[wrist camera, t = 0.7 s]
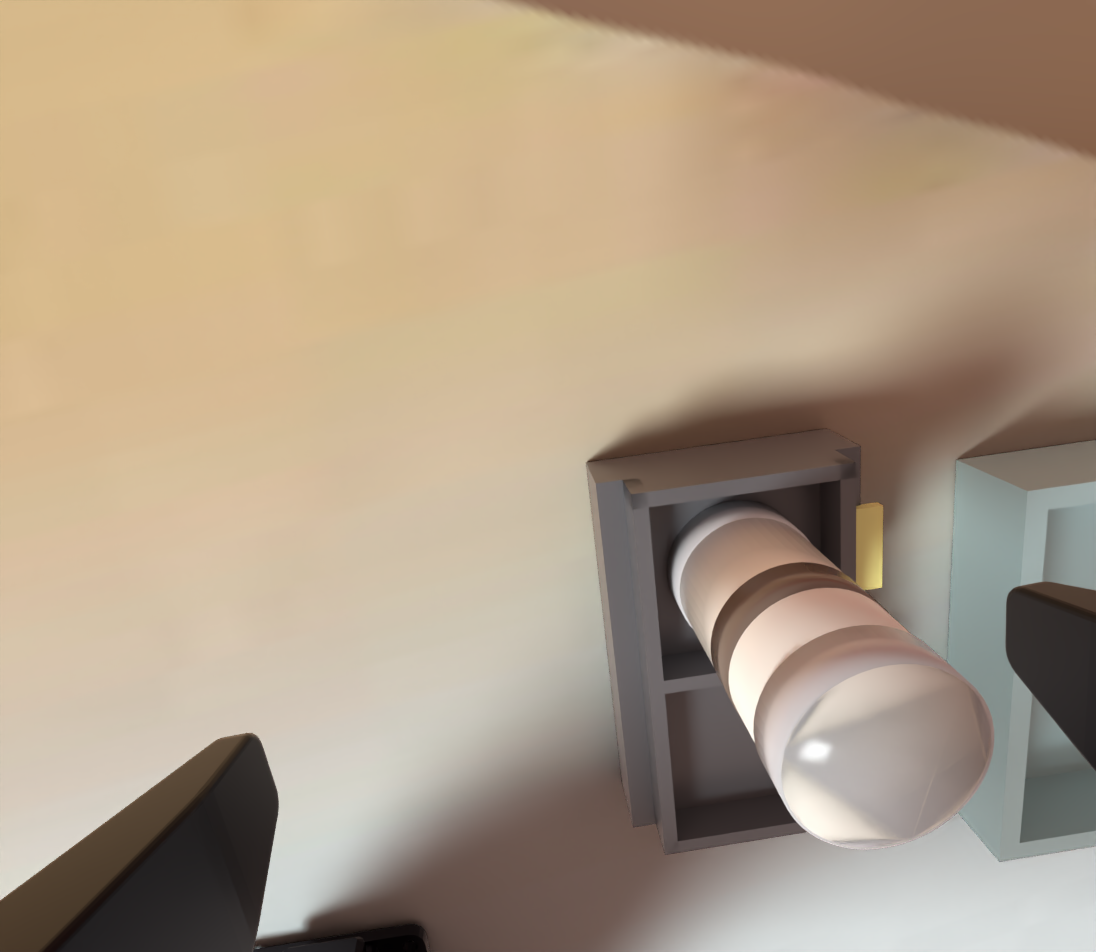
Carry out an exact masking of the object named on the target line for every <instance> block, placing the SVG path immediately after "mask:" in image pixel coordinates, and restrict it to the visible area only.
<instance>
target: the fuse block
mask: <svg viewBox="0 0 1096 952" xmlns="http://www.w3.org/2000/svg"><path fill="white" fill-rule="evenodd" d="M860 456H861V446H859V445H857V444H855V443H853V442H852V441H850V440H848V439H846V438H844V437H842V436H840V435H838V434H836V433H834V432H832V431H830V430H828V429H821V430H814V431H807V432H800V433H793V434H786V435H778V436H771V437H764V438H757V439H750V440H743V441H736V442H728V443H721V444H714V445H707V446H700V447H693V448H686V449H679V450H671V451H664V452H657V453H650V454H643V455H636V456H629V457H621V458H614V459H607V460H600V461H593V462H586V467H587V476H588V485H589V494H590V503H591V512H592V521H593V530H594V539H595V547H596V556H597V565H598V574H599V583H600V592H601V601H602V610H603V619H604V628H605V637H606V645H607V654H608V663H609V672H610V681H611V690H612V699H613V708H614V717H615V726H616V735H617V744H618V752H619V761H620V770H621V779H622V785H623V789H624V793H625V797H626V801H627V805H628V809H629V813H630V817H631V821H632V825H633V827H639V826H645V825H651V824H656V826H657V829H658V832H659V836H660V839H661V843H662V846H663V850H664V853H665V855H667V854H673V853H680V852H686V851H692V850H698V849H705V848H711V847H717V846H723V845H729V844H736V843H742V842H748V841H754V840H761V839H767V838H773V837H779V836H786V835H792V834H798V833H804V832H807V831H806V830H805V829H803V828H802V827H801V826H800V825H799V824H798V823H797V822H796V821H795V820H794V818H793V817H792V816H791V814H790V813H789V811H788V810H787V808H786V806H785V804H784V802H783V800H782V799H781V797H780V795H779V793H778V791H777V789H776V787H775V785H774V784H773V782H772V780H771V778H770V776H769V774H768V772H767V770H766V769H765V767H764V765H763V763H762V761H761V759H760V757H759V755H758V752H757V749H756V745H755V743H754V741H753V739H752V737H751V735H750V733H749V731H748V730H747V728H746V726H745V724H744V722H743V720H742V719H741V717H740V716H739V714H738V713H737V711H736V709H735V708H734V706H733V704H732V702H731V700H730V698H729V696H728V695H727V693H726V691H725V689H724V687H723V685H722V684H721V682H720V680H719V678H718V676H717V674H716V672H715V669H714V667H713V665H712V663H711V661H710V659H709V658H708V656H707V654H706V652H705V650H704V648H703V646H702V645H701V643H700V641H699V639H698V637H697V635H696V634H695V632H694V630H693V628H692V627H691V626H690V625H689V623H688V622H687V621H686V619H685V617H684V615H683V614H682V612H681V610H680V608H679V606H678V604H677V602H676V601H675V599H674V597H673V595H672V592H671V590H670V587H669V584H668V579H667V561H668V556H669V552H670V549H671V547H672V544H673V542H674V540H675V538H676V537H677V535H678V533H679V532H680V531H681V530H682V528H683V527H684V526H685V525H686V524H687V523H688V522H689V521H690V520H691V519H692V518H693V517H695V516H696V515H697V514H699V513H700V512H702V511H703V510H705V509H707V508H709V507H711V506H714V505H717V504H720V503H723V502H728V501H736V500H747V501H754V502H759V503H762V504H765V505H767V506H769V507H771V508H773V509H775V510H776V511H778V512H779V513H781V514H782V515H783V516H784V517H785V518H786V519H787V520H788V521H789V522H791V523H792V524H793V525H794V526H795V527H796V528H797V529H798V530H800V531H801V532H802V533H803V534H804V535H805V536H806V538H807V539H808V540H809V541H810V543H811V544H812V545H813V546H814V547H815V548H816V549H818V550H819V551H820V552H821V553H822V554H823V555H824V556H825V557H826V558H828V559H829V560H830V561H831V562H832V563H833V564H834V565H835V566H836V567H838V568H839V569H840V570H841V571H842V572H843V573H844V574H846V575H847V576H849V577H850V578H851V579H852V580H853V581H854V582H856V583H857V584H858V585H859V586H860V587H861V588H862V589H863V590H869V589H876V588H882V557H883V505H881V504H880V503H878V502H875V503H868V504H861V505H860Z"/></svg>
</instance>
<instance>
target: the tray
mask: <svg viewBox="0 0 1096 952" xmlns="http://www.w3.org/2000/svg"><path fill="white" fill-rule="evenodd" d="M1046 581H1047V582H1054V583H1060V584H1065V585H1070V586H1076V587H1081V588H1086V589H1092V590H1096V440H1091V441H1084V442H1077V443H1070V444H1063V445H1056V446H1049V447H1042V448H1035V449H1028V450H1021V451H1014V452H1007V453H1000V454H993V455H986V456H979V457H972V458H965V459H958V460H956V480H955V502H954V524H953V546H952V568H951V590H950V612H949V635H948V657H947V663H948V664H950V665H951V666H952V667H953V668H954V669H955V670H956V671H957V672H958V673H960V674H961V675H962V676H963V677H964V678H965V679H966V680H967V681H968V682H970V683H971V684H972V685H973V686H974V687H975V688H976V689H977V690H978V692H979V693H980V694H981V696H982V697H983V698H984V700H985V702H986V704H987V706H988V708H989V711H990V713H991V716H992V720H993V726H994V748H993V755H992V758H991V762H990V765H989V768H988V770H987V773H986V775H985V777H984V779H983V781H982V783H981V784H980V786H979V788H978V789H977V791H976V792H975V794H974V795H973V796H972V798H971V799H970V800H969V801H968V802H967V804H966V805H965V806H964V807H963V808H962V809H961V810H960V811H959V812H958V813H959V815H960V816H961V817H962V818H963V819H964V821H965V822H966V823H967V824H968V825H969V826H970V828H971V829H972V830H973V831H974V832H975V834H976V835H977V836H978V837H979V838H980V840H981V841H982V842H983V843H984V844H985V846H986V847H987V848H988V849H989V850H990V852H991V853H992V854H993V855H994V856H995V858H996V859H997V860H998V861H999V862H1002V861H1008V860H1015V859H1021V858H1027V857H1033V856H1039V855H1045V854H1051V853H1057V852H1063V851H1070V850H1076V849H1082V848H1088V847H1094V846H1096V771H1095V770H1094V769H1093V768H1092V767H1091V766H1090V764H1089V763H1088V762H1087V761H1086V760H1085V758H1084V757H1083V756H1082V755H1081V754H1080V752H1079V751H1078V750H1077V749H1076V747H1075V746H1074V745H1073V744H1072V742H1071V741H1070V740H1069V739H1068V737H1067V736H1066V735H1065V734H1064V732H1063V731H1062V730H1061V729H1060V728H1059V726H1058V725H1057V724H1056V723H1055V721H1054V720H1053V719H1052V718H1051V716H1050V715H1049V714H1048V713H1047V711H1046V710H1045V709H1044V708H1043V706H1042V705H1041V704H1040V703H1039V702H1038V700H1037V699H1036V698H1035V697H1034V695H1033V694H1032V693H1031V692H1030V690H1029V689H1028V688H1027V687H1026V685H1025V684H1024V683H1023V682H1022V680H1021V679H1020V678H1019V677H1018V675H1017V674H1016V673H1015V672H1014V670H1013V669H1012V667H1011V665H1010V663H1009V661H1008V658H1007V655H1006V648H1005V639H1006V600H1007V596H1008V593H1009V592H1010V591H1011V590H1012V589H1013V588H1015V587H1018V586H1022V585H1027V584H1032V583H1038V582H1046Z"/></svg>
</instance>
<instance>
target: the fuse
mask: <svg viewBox="0 0 1096 952" xmlns="http://www.w3.org/2000/svg"><path fill="white" fill-rule="evenodd" d="M667 579H668V584H669V587H670V590H671V592H672V595H673V597H674V599H675V601H676V602H677V604H678V606H679V608H680V610H681V612H682V614H683V615H684V617H685V619H686V621H687V622H688V623H689V625H690V626H691V627H692V628H693V630H694V632H695V634H696V635H697V637H698V639H699V641H700V643H701V645H702V646H703V648H704V650H705V652H706V654H707V656H708V658H709V659H710V661H711V663H712V665H713V667H714V669H715V672H716V674H717V676H718V678H719V680H720V682H721V684H722V685H723V687H724V689H725V691H726V693H727V695H728V696H729V698H730V700H731V702H732V704H733V706H734V708H735V709H736V711H737V713H738V714H739V716H740V717H741V719H742V720H743V722H744V724H745V726H746V728H747V730H748V731H749V733H750V735H751V737H752V739H753V741H754V743H755V745H756V749H757V752H758V755H759V757H760V759H761V761H762V763H763V765H764V767H765V769H766V770H767V772H768V774H769V776H770V778H771V780H772V782H773V784H774V785H775V787H776V789H777V791H778V793H779V795H780V797H781V799H782V800H783V802H784V804H785V806H786V808H787V810H788V811H789V813H790V814H791V816H792V817H793V818H794V820H795V821H796V822H797V823H798V824H799V825H800V826H801V827H802V828H803V829H805V830H806V831H807V832H808V833H810V834H811V835H813V836H815V837H816V838H818V839H820V840H822V841H824V842H827V843H830V844H832V845H836V846H840V847H844V848H851V849H880V848H887V847H892V846H896V845H900V844H903V843H906V842H910V841H912V840H915V839H917V838H919V837H922V836H924V835H926V834H928V833H930V832H931V831H933V830H935V829H937V828H938V827H940V826H941V825H943V824H944V823H945V822H947V821H948V820H950V819H951V818H952V817H953V816H954V815H955V814H957V813H958V812H959V811H960V810H961V809H962V808H963V807H964V806H965V805H966V804H967V802H968V801H969V800H970V799H971V798H972V796H973V795H974V794H975V792H976V791H977V789H978V788H979V786H980V784H981V783H982V781H983V779H984V777H985V775H986V773H987V770H988V768H989V765H990V762H991V758H992V755H993V748H994V726H993V720H992V716H991V713H990V711H989V708H988V706H987V704H986V702H985V700H984V698H983V697H982V696H981V694H980V693H979V692H978V690H977V689H976V688H975V687H974V686H973V685H972V684H971V683H970V682H968V681H967V680H966V679H965V678H964V677H963V676H962V675H961V674H960V673H958V672H957V671H956V670H955V669H954V668H953V667H952V666H951V665H950V664H948V663H947V662H946V661H945V660H944V659H943V658H942V657H941V656H939V655H938V654H937V653H936V652H935V651H934V650H933V649H932V648H930V647H929V646H928V645H927V644H926V643H925V642H923V641H922V640H920V639H919V638H917V637H916V636H914V635H912V634H911V633H910V632H908V631H907V630H906V629H905V628H904V627H903V626H902V625H901V624H900V623H898V622H897V621H896V620H895V619H894V618H893V617H892V616H891V615H890V614H889V613H888V612H887V611H886V610H885V609H884V608H883V607H882V606H881V605H880V604H879V603H878V602H877V601H876V600H874V599H873V598H872V597H871V596H870V595H869V594H868V593H867V592H866V591H864V590H863V589H862V588H861V587H860V586H859V585H858V584H857V583H856V582H854V581H853V580H852V579H851V578H850V577H849V576H847V575H846V574H844V573H843V572H842V571H841V570H840V569H839V568H838V567H836V566H835V565H834V564H833V563H832V562H831V561H830V560H829V559H828V558H826V557H825V556H824V555H823V554H822V553H821V552H820V551H819V550H818V549H816V548H815V547H814V546H813V545H812V544H811V543H810V541H809V540H808V539H807V538H806V536H805V535H804V534H803V533H802V532H801V531H800V530H798V529H797V528H796V527H795V526H794V525H793V524H792V523H791V522H789V521H788V520H787V519H786V518H785V517H784V516H783V515H782V514H781V513H779V512H778V511H776V510H775V509H773V508H771V507H769V506H767V505H765V504H762V503H759V502H754V501H747V500H736V501H728V502H723V503H720V504H717V505H714V506H711V507H709V508H707V509H705V510H703V511H702V512H700V513H699V514H697V515H696V516H695V517H693V518H692V519H691V520H690V521H689V522H688V523H687V524H686V525H685V526H684V527H683V528H682V530H681V531H680V532H679V533H678V535H677V537H676V538H675V540H674V542H673V544H672V547H671V549H670V552H669V556H668V561H667Z"/></svg>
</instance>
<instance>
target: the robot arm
mask: <svg viewBox="0 0 1096 952" xmlns="http://www.w3.org/2000/svg"><path fill="white" fill-rule="evenodd" d="M1005 648H1006V655H1007V658H1008V661H1009V663H1010V665H1011V667H1012V669H1013V670H1014V672H1015V673H1016V674H1017V675H1018V677H1019V678H1020V679H1021V680H1022V682H1023V683H1024V684H1025V685H1026V687H1027V688H1028V689H1029V690H1030V692H1031V693H1032V694H1033V695H1034V697H1035V698H1036V699H1037V700H1038V702H1039V703H1040V704H1041V705H1042V706H1043V708H1044V709H1045V710H1046V711H1047V713H1048V714H1049V715H1050V716H1051V718H1052V719H1053V720H1054V721H1055V723H1056V724H1057V725H1058V726H1059V728H1060V729H1061V730H1062V731H1063V732H1064V734H1065V735H1066V736H1067V737H1068V739H1069V740H1070V741H1071V742H1072V744H1073V745H1074V746H1075V747H1076V749H1077V750H1078V751H1079V752H1080V754H1081V755H1082V756H1083V757H1084V758H1085V760H1086V761H1087V762H1088V763H1089V764H1090V766H1091V767H1092V768H1093V769H1094V770H1095V771H1096V590H1092V589H1086V588H1081V587H1076V586H1070V585H1065V584H1060V583H1054V582H1047V581H1046V582H1038V583H1032V584H1027V585H1022V586H1018V587H1015V588H1013V589H1012V590H1011V591H1010V592H1009V593H1008V596H1007V600H1006V639H1005ZM278 809H279V801H278V793H277V789H276V786H275V783H274V780H273V776H272V773H271V770H270V767H269V764H268V761H267V758H266V755H265V752H264V749H263V746H262V743H261V741H260V740H259V738H258V737H257V736H256V735H255V734H253V733H245V734H239V735H234V736H229V737H224V738H220V739H218V740H216V741H214V742H213V743H212V744H210V745H209V746H208V747H206V748H205V749H204V750H202V751H201V752H200V753H198V754H197V755H196V756H194V757H193V758H192V759H190V760H189V761H187V762H186V763H185V764H183V765H182V766H181V767H179V768H178V769H177V770H175V771H174V772H173V773H171V774H170V775H169V776H167V777H166V778H165V779H163V780H162V781H161V782H159V783H158V784H156V785H155V786H154V787H152V788H151V789H150V790H148V791H147V792H146V793H144V794H143V795H142V796H140V797H139V798H138V799H136V800H135V801H134V802H132V803H131V804H130V805H128V806H127V807H125V808H124V809H123V810H121V811H120V812H119V813H117V814H116V815H115V816H113V817H112V818H111V819H109V820H108V821H107V822H105V823H104V824H103V825H101V826H100V827H99V828H97V829H96V830H95V831H93V832H92V833H90V834H89V835H88V836H86V837H85V838H84V839H82V840H81V841H80V842H78V843H77V844H76V845H74V846H73V847H72V848H70V849H69V850H68V851H66V852H65V853H64V854H62V855H61V856H59V857H58V858H57V859H55V860H54V861H53V862H51V863H50V864H49V865H47V866H46V867H45V868H43V869H42V870H41V871H39V872H38V873H37V874H35V875H34V876H33V877H31V878H30V879H29V880H27V881H26V882H24V883H23V884H22V885H20V886H19V887H18V888H16V889H15V890H14V891H12V892H11V893H10V894H8V895H7V896H6V897H4V898H3V899H2V900H0V952H430V948H429V944H428V939H427V935H426V932H425V930H424V929H423V928H422V927H421V926H418V925H415V924H408V925H402V926H396V927H390V928H384V929H377V930H371V931H365V932H359V933H353V934H347V935H340V936H334V937H328V938H322V939H316V940H309V941H303V942H297V943H291V944H285V945H279V946H272V947H266V948H260V949H254V945H255V941H256V936H257V931H258V926H259V921H260V915H261V909H262V904H263V898H264V892H265V886H266V880H267V875H268V869H269V863H270V857H271V852H272V846H273V840H274V834H275V828H276V823H277V817H278ZM409 940H413V941H409ZM253 949H254V950H253Z"/></svg>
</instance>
